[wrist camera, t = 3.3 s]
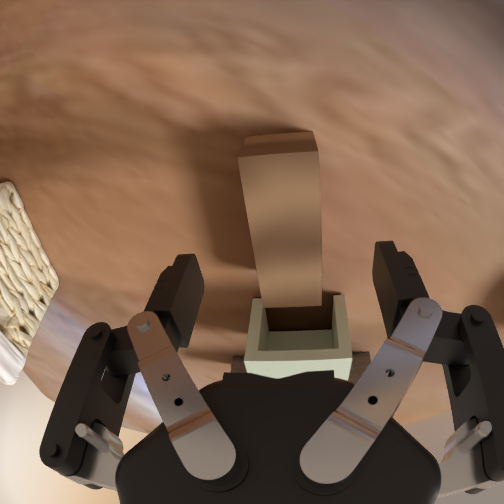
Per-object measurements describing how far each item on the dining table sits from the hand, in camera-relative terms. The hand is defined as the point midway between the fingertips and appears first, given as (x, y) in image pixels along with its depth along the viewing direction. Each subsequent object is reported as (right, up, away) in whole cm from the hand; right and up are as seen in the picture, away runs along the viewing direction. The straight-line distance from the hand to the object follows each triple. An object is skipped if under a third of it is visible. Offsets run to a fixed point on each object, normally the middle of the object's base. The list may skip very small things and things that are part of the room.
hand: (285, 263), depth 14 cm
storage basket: (-35, +2, +16) cm, 38 cm away
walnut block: (+1, +4, +10) cm, 11 cm away
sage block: (+3, -6, +17) cm, 18 cm away
